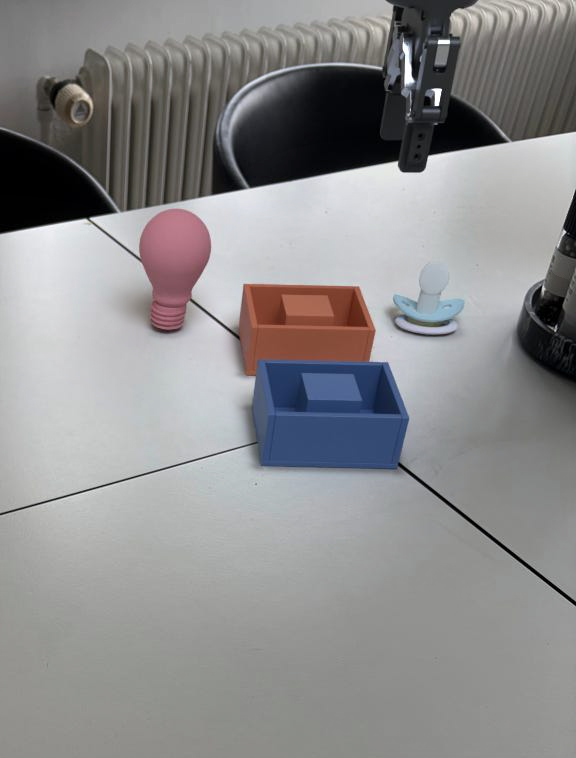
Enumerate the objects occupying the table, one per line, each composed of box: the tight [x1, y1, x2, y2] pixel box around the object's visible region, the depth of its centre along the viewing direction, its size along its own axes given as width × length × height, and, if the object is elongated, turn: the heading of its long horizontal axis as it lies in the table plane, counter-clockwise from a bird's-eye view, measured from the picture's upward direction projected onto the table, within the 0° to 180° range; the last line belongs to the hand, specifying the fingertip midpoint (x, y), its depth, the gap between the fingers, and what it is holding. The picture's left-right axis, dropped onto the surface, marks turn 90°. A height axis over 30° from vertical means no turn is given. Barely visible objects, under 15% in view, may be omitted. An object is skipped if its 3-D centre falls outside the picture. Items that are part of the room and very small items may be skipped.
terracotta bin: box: [237, 283, 377, 376], centre depth 103 cm, size 12×10×5 cm
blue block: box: [295, 373, 362, 413], centre depth 91 cm, size 5×5×5 cm
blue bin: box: [251, 359, 410, 470], centre depth 91 cm, size 12×10×5 cm
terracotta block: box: [277, 295, 334, 326], centre depth 103 cm, size 5×5×5 cm
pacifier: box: [392, 261, 466, 336], centre depth 108 cm, size 7×6×6 cm
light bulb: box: [138, 208, 212, 331], centre depth 105 cm, size 7×7×12 cm
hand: (400, 154), depth 90 cm, fingers open, 8 cm apart
